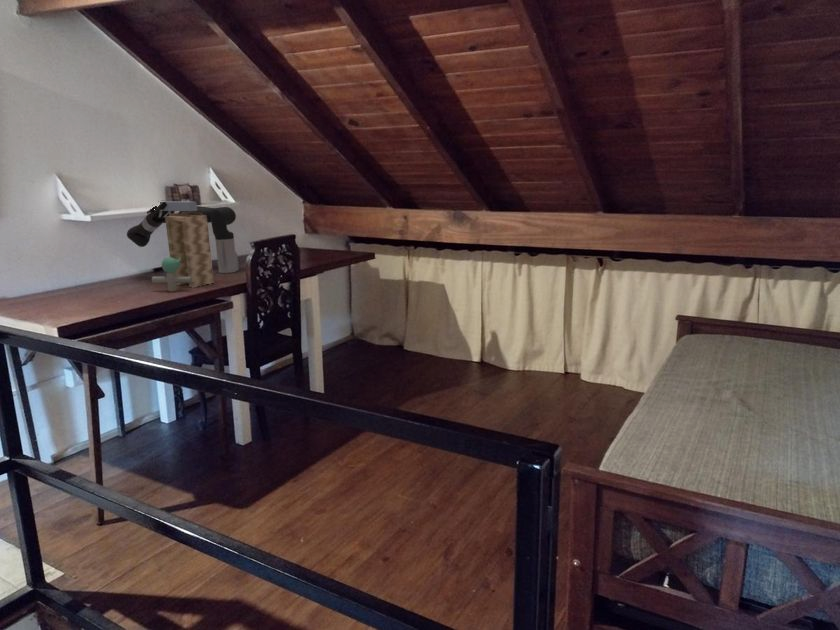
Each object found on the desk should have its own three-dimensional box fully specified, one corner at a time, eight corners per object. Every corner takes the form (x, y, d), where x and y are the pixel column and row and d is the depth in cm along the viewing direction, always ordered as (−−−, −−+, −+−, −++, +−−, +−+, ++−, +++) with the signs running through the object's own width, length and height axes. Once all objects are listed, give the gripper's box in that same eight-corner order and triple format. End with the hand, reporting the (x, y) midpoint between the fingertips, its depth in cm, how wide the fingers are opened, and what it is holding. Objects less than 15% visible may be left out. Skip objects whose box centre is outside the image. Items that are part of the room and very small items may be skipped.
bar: (168, 209, 295) (167, 201, 294) (197, 210, 283) (196, 201, 282) (160, 210, 292) (159, 201, 291) (189, 211, 280) (188, 202, 279)
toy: (196, 289, 282) (192, 256, 278) (189, 292, 275) (185, 258, 272) (157, 289, 284) (153, 256, 280) (149, 292, 277) (145, 258, 274)
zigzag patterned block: (195, 281, 302) (187, 211, 294) (214, 283, 294) (206, 212, 286) (173, 285, 292) (164, 213, 284) (192, 288, 284) (183, 214, 276)
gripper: (169, 226, 305) (186, 208, 295) (143, 229, 294) (159, 211, 284) (163, 212, 306) (179, 194, 296) (136, 215, 294) (152, 196, 284)
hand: (169, 203), depth 290 cm, fingers closed on bar, 4 cm apart
